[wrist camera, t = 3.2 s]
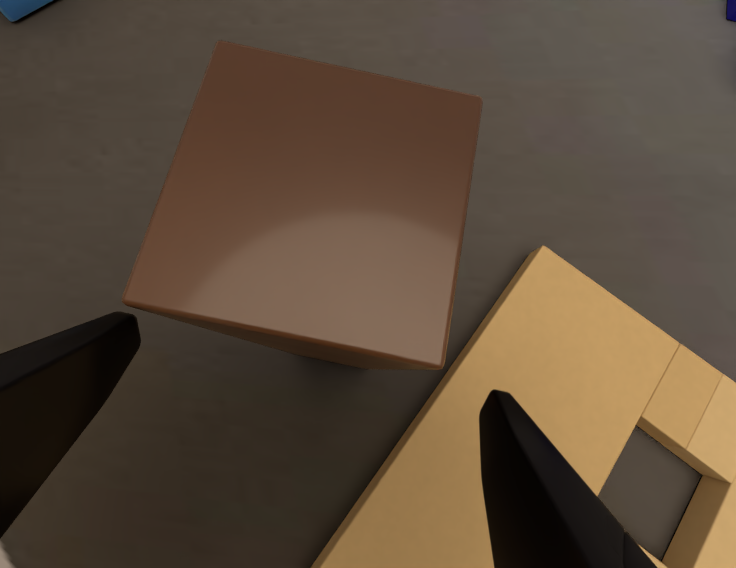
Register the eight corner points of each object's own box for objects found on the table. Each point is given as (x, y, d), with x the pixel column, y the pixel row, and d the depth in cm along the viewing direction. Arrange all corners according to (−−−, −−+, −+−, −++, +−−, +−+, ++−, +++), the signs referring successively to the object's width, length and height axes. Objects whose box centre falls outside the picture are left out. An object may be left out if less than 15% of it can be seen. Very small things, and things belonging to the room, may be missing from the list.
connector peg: (368, 369, 19) (445, 370, 4) (293, 354, 19) (116, 302, 4) (383, 295, 20) (485, 94, 5) (311, 281, 20) (215, 36, 5)
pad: (501, 751, 16) (517, 790, 14) (303, 576, 17) (300, 596, 15) (696, 373, 20) (723, 373, 18) (529, 252, 21) (543, 244, 20)
